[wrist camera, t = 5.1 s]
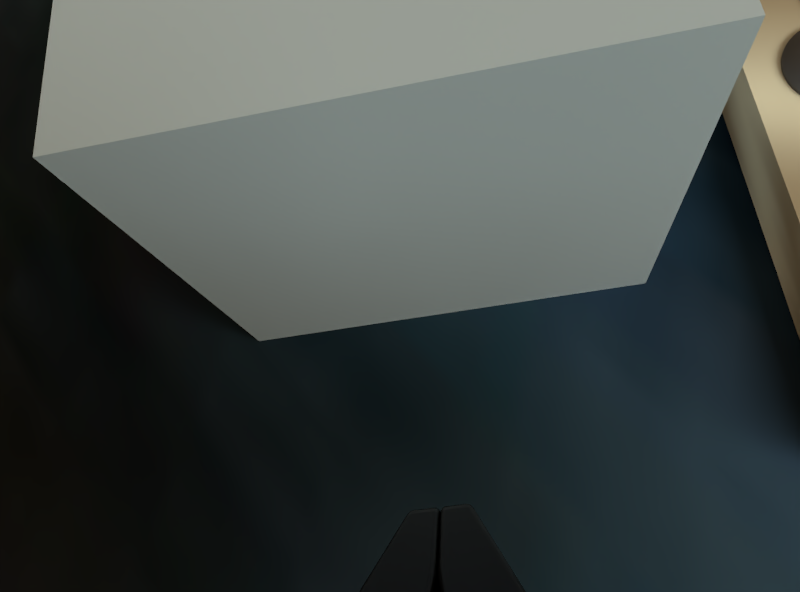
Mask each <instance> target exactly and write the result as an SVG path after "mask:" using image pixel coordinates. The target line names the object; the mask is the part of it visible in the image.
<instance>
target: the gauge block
mask: <svg viewBox="0 0 800 592" xmlns="http://www.w3.org/2000/svg"><path fill="white" fill-rule="evenodd" d="M764 17H765V12H764V10H763V7H762V5H761V2H760V0H53V5H52V13H51V20H50V28H49V36H48V43H47V51H46V59H45V66H44V74H43V82H42V89H41V97H40V105H39V113H38V120H37V128H36V136H35V143H34V151H33V158H34V159H35V160H37V161H38V162H39V163H40V164H42V165H43V166H44V167H45V168H47V169H48V170H49V171H50V172H51V173H53V174H54V175H55V176H56V177H58V178H59V179H60V180H61V181H63V182H64V183H65V184H66V185H67V186H69V187H70V188H71V189H72V190H74V191H75V192H76V193H77V194H79V195H80V196H81V197H82V198H83V199H85V200H86V201H87V202H88V203H90V204H91V205H92V206H93V207H95V208H96V209H97V210H98V211H99V212H101V213H102V214H103V215H104V216H106V217H107V218H108V219H109V220H111V221H112V222H113V223H114V224H115V225H117V226H118V227H119V228H120V229H122V230H123V231H124V232H125V233H127V234H128V235H129V236H130V237H131V238H133V239H134V240H135V241H136V242H138V243H139V244H140V245H141V246H143V247H144V248H145V249H146V250H148V251H149V252H150V253H151V254H152V255H154V256H155V257H156V258H157V259H159V260H160V261H161V262H162V263H164V264H165V265H166V266H167V267H168V268H170V269H171V270H172V271H173V272H175V273H176V274H177V275H178V276H180V277H181V278H182V279H183V280H184V281H186V282H187V283H188V284H189V285H191V286H192V287H193V288H194V289H196V290H197V291H198V292H199V293H200V294H202V295H203V296H204V297H205V298H207V299H208V300H209V301H210V302H212V303H213V304H214V305H215V306H216V307H218V308H219V309H220V310H221V311H223V312H224V313H225V314H226V315H228V316H229V317H230V318H231V319H233V320H234V321H235V322H236V323H237V324H239V325H240V326H241V327H242V328H244V329H245V330H246V331H247V332H249V333H250V334H251V335H252V336H253V337H255V338H256V339H257V340H258V341H263V340H270V339H277V338H283V337H290V336H297V335H303V334H310V333H317V332H323V331H330V330H337V329H343V328H350V327H357V326H363V325H370V324H377V323H383V322H390V321H397V320H403V319H410V318H417V317H423V316H430V315H437V314H443V313H450V312H457V311H463V310H470V309H477V308H483V307H490V306H497V305H503V304H510V303H517V302H523V301H530V300H537V299H543V298H550V297H557V296H563V295H570V294H577V293H583V292H590V291H597V290H603V289H610V288H617V287H623V286H630V285H637V284H643V283H646V281H647V279H648V276H649V274H650V272H651V270H652V267H653V265H654V263H655V261H656V258H657V256H658V254H659V252H660V250H661V247H662V245H663V243H664V241H665V238H666V236H667V234H668V232H669V229H670V227H671V225H672V223H673V221H674V218H675V216H676V214H677V212H678V209H679V207H680V205H681V203H682V200H683V198H684V196H685V194H686V192H687V189H688V187H689V185H690V183H691V180H692V178H693V176H694V174H695V171H696V169H697V167H698V165H699V162H700V160H701V158H702V156H703V154H704V151H705V149H706V147H707V145H708V142H709V140H710V138H711V136H712V133H713V131H714V129H715V127H716V125H717V122H718V120H719V118H720V116H721V113H722V111H723V109H724V107H725V104H726V102H727V100H728V98H729V96H730V93H731V91H732V89H733V87H734V84H735V82H736V80H737V78H738V75H739V73H740V71H741V69H742V67H743V64H744V62H745V60H746V58H747V55H748V53H749V51H750V49H751V46H752V44H753V42H754V40H755V38H756V35H757V33H758V31H759V29H760V26H761V24H762V22H763V20H764Z"/></svg>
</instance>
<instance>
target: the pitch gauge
mask: <svg viewBox="0 0 800 592" xmlns="http://www.w3.org/2000/svg"><path fill="white" fill-rule="evenodd" d="M760 2H761V5H762V7H763V10H764V12H765V17H764V20H763V22H762V24H761V26H760V29H759V31H758V33H757V35H756V38H755V40H754V42H753V44H752V46H751V49H750V51H749V53H748V55H747V58H746V60H745V62H744V64H743V67H742V69H741V71H740V73H739V75H738V78H737V80H736V82H735V84H734V87H733V89H732V91H731V93H730V96H729V98H728V100H727V102H726V104H725V107H724V109H723V111H722V113H723V116H724V119H725V122H726V125H727V128H728V131H729V134H730V137H731V140H732V143H733V146H734V148H735V151H736V154H737V157H738V160H739V163H740V166H741V169H742V172H743V175H744V178H745V181H746V184H747V187H748V190H749V193H750V195H751V198H752V201H753V204H754V207H755V210H756V213H757V216H758V219H759V222H760V225H761V228H762V231H763V234H764V237H765V239H766V242H767V245H768V248H769V251H770V254H771V257H772V260H773V263H774V266H775V269H776V272H777V275H778V278H779V281H780V283H781V286H782V289H783V292H784V295H785V298H786V301H787V304H788V307H789V310H790V313H791V316H792V319H793V322H794V325H795V328H796V330H797V333H798V336H799V339H800V0H760Z"/></svg>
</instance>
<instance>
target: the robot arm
mask: <svg viewBox="0 0 800 592" xmlns="http://www.w3.org/2000/svg"><path fill="white" fill-rule="evenodd" d="M360 592H526V591H525V590H524V588H523V587H522V585H521V583H520V582H519V580H518V579H517V577H516V575H515V574H514V572H513V571H512V569H511V567H510V566H509V564H508V563H507V561H506V559H505V558H504V556H503V555H502V553H501V551H500V550H499V548H498V547H497V545H496V543H495V542H494V540H493V538H492V537H491V535H490V534H489V532H488V530H487V529H486V527H485V526H484V524H483V522H482V521H481V519H480V518H479V516H478V514H477V513H476V511H475V510H474V508H473V507H472V506H471V505H469V504H462V505H454V506H446V507H443V508H442V510H441V512H440V510H439V509H437V508H428V509H420V510H413V511H411V512H409V513H408V514H407V516H406V518H405V519H404V521H403V522H402V524H401V526H400V527H399V529H398V530H397V532H396V534H395V535H394V537H393V538H392V540H391V542H390V543H389V545H388V546H387V548H386V550H385V551H384V553H383V555H382V556H381V558H380V559H379V561H378V563H377V564H376V566H375V567H374V569H373V571H372V572H371V574H370V575H369V577H368V579H367V580H366V582H365V584H364V585H363V587H362V588H361V590H360Z"/></svg>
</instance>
